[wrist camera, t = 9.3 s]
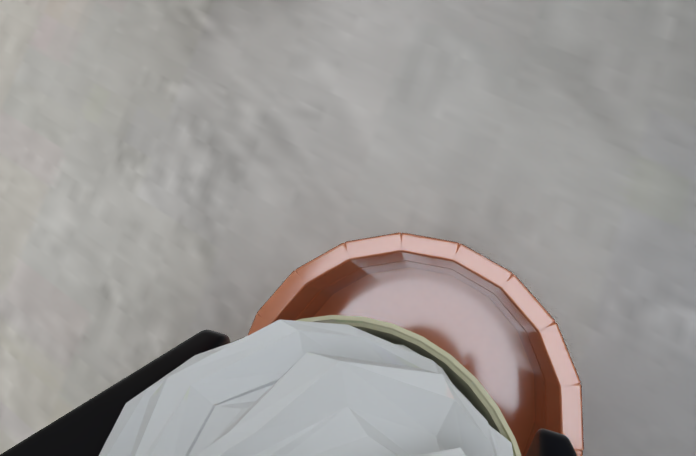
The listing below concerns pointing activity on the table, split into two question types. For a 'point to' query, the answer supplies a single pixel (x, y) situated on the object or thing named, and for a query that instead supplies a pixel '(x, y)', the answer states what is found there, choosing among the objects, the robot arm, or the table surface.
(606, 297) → the table surface
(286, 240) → the table surface
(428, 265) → the bowl
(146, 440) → the ice cream cone
